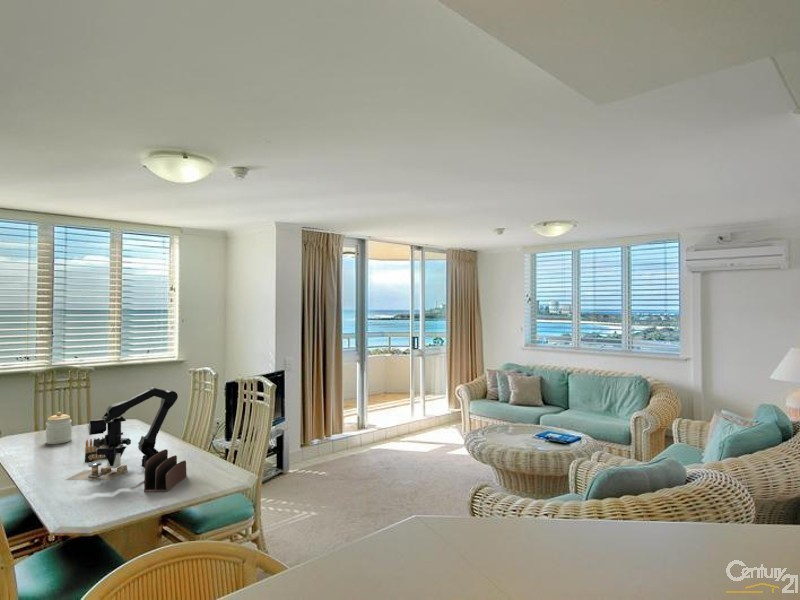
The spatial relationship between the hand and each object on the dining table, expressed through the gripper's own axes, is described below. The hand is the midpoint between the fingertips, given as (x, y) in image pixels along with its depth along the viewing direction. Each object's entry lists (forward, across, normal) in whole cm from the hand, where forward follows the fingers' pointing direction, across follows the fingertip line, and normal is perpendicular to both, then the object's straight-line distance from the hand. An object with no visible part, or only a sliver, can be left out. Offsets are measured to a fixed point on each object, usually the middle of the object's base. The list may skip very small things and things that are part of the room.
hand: (114, 464), depth 235 cm
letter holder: (+5, +12, +31) cm, 33 cm away
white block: (+1, 0, 0) cm, 1 cm away
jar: (+5, -60, -68) cm, 91 cm away
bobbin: (+4, +6, -6) cm, 9 cm away
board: (+5, +4, -6) cm, 9 cm away
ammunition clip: (+5, -22, -22) cm, 31 cm away
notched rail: (+4, 0, 0) cm, 4 cm away
